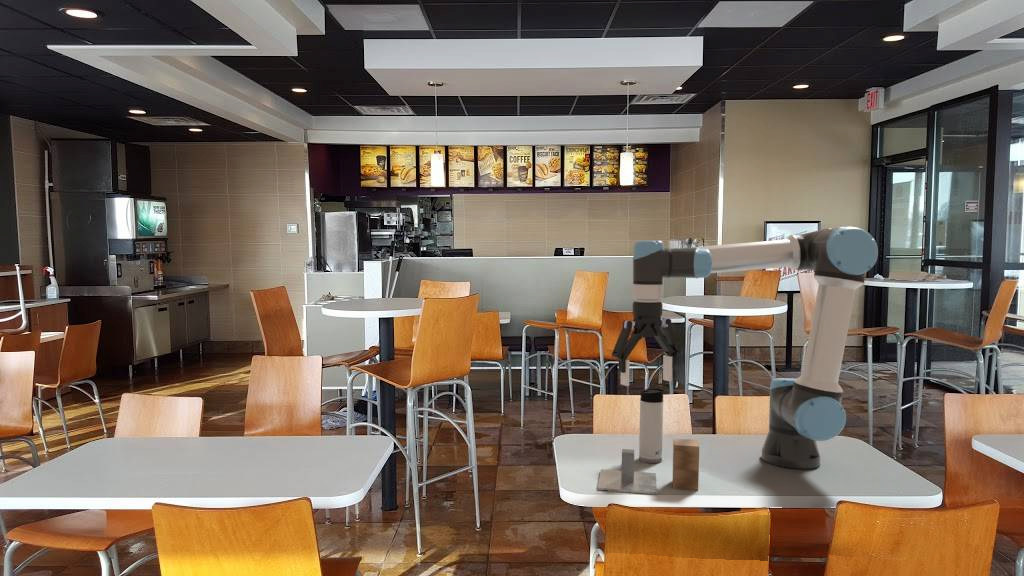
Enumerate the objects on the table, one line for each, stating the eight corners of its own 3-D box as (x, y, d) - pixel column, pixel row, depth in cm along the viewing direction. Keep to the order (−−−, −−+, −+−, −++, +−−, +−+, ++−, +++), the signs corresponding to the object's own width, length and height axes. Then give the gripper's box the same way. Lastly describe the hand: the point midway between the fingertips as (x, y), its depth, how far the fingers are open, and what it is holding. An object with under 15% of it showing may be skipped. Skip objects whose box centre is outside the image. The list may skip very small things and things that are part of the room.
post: (655, 475, 173) (656, 444, 172) (656, 494, 159) (657, 461, 159) (601, 471, 175) (601, 441, 175) (597, 490, 162) (598, 457, 161)
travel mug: (663, 464, 182) (665, 391, 181) (638, 462, 183) (640, 390, 182) (663, 457, 188) (664, 386, 187) (639, 455, 189) (640, 385, 188)
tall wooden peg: (696, 482, 168) (697, 439, 167) (698, 490, 162) (699, 446, 161) (672, 480, 169) (673, 438, 168) (673, 488, 163) (674, 444, 163)
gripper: (676, 298, 181) (675, 376, 182) (598, 301, 170) (597, 384, 171) (695, 300, 174) (693, 381, 175) (615, 303, 163) (614, 389, 164)
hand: (646, 382), depth 173 cm, fingers open, 13 cm apart
